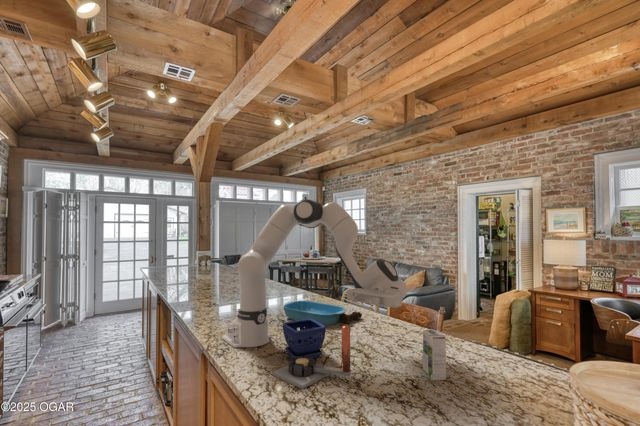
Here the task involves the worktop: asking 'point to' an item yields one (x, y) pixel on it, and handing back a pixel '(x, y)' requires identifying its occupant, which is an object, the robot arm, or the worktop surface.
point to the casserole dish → (314, 311)
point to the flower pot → (304, 338)
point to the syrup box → (434, 355)
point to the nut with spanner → (312, 367)
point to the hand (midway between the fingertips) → (360, 300)
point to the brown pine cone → (350, 317)
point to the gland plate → (297, 380)
